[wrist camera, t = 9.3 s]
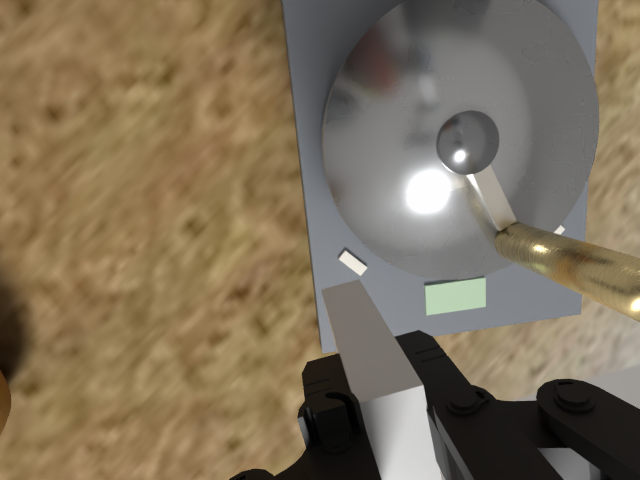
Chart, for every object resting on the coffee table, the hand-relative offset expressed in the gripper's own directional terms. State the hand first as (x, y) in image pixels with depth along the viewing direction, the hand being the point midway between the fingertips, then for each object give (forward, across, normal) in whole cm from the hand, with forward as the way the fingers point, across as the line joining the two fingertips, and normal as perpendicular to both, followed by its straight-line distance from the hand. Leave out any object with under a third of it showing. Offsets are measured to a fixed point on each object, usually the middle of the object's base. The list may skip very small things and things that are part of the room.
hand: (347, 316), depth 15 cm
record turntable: (+9, +8, +4) cm, 13 cm away
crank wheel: (+7, +8, +5) cm, 11 cm away
